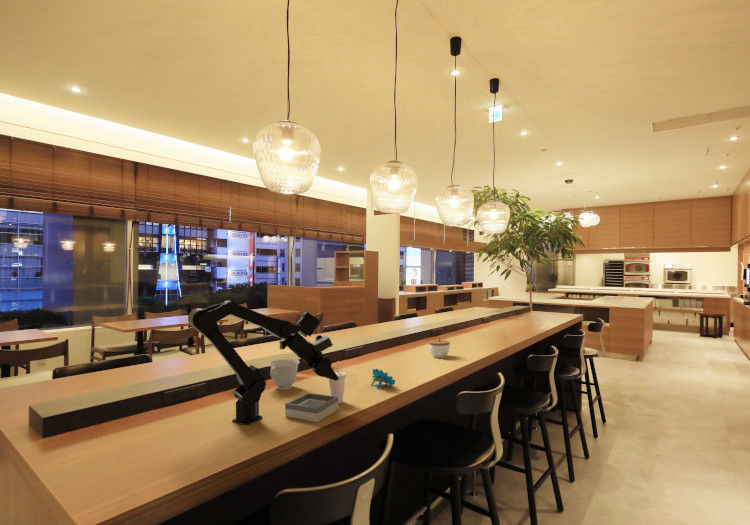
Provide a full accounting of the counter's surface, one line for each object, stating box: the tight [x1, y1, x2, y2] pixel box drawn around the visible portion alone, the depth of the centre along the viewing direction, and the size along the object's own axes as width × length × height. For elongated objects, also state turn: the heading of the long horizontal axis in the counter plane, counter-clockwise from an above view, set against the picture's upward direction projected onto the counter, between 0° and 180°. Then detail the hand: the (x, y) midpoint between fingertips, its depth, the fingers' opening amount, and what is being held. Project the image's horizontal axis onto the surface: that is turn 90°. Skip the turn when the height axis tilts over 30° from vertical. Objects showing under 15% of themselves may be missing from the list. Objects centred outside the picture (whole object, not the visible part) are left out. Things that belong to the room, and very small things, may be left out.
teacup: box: [268, 358, 301, 391], centre depth 151 cm, size 12×15×10 cm
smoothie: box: [328, 360, 347, 405], centre depth 135 cm, size 6×6×14 cm
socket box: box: [284, 392, 339, 423], centre depth 125 cm, size 12×12×4 cm
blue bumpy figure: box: [370, 368, 396, 389], centre depth 151 cm, size 11×6×10 cm
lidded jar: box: [428, 338, 451, 359], centre depth 203 cm, size 11×11×9 cm
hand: (334, 376), depth 134 cm, fingers open, 9 cm apart
